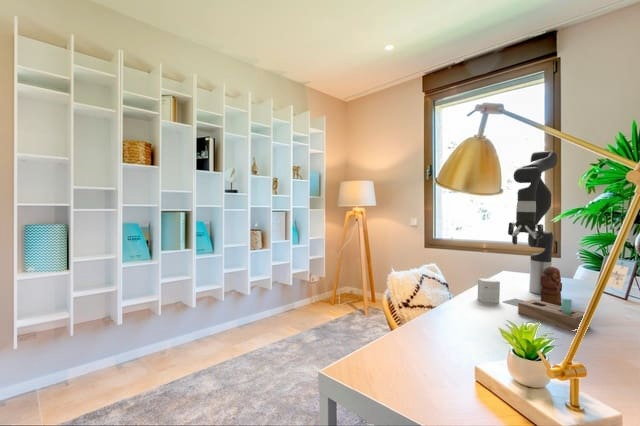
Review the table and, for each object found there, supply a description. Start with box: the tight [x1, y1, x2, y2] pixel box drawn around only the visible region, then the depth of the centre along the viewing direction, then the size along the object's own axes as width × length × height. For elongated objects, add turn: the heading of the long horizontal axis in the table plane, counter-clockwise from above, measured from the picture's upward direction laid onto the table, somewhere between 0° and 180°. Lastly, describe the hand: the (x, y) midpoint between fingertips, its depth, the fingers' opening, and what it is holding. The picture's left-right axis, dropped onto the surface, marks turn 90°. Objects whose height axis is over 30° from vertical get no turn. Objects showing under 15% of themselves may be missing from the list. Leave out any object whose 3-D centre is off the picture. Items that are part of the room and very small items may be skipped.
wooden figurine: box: [540, 266, 563, 306], centre depth 146 cm, size 12×6×18 cm, turn 125°
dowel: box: [561, 297, 573, 314], centre depth 123 cm, size 3×3×10 cm
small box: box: [477, 278, 501, 304], centre depth 150 cm, size 8×6×10 cm
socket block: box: [517, 298, 585, 332], centre depth 127 cm, size 12×20×5 cm, turn 30°
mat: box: [502, 298, 525, 308], centre depth 147 cm, size 12×12×1 cm
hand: (524, 245), depth 146 cm, fingers open, 8 cm apart
